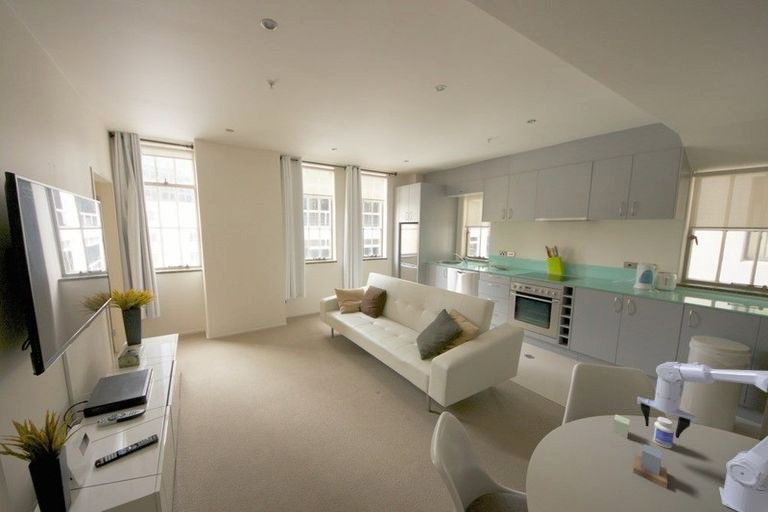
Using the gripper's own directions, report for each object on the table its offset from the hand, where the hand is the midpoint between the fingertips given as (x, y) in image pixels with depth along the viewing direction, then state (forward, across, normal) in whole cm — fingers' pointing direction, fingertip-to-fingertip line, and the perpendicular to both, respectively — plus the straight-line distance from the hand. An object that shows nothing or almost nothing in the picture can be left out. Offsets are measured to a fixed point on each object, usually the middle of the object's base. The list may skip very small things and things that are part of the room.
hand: (661, 430), depth 100 cm
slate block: (+8, +2, +11) cm, 14 cm away
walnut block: (+11, +2, +12) cm, 16 cm away
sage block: (+10, +11, -5) cm, 16 cm away
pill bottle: (+11, -1, -10) cm, 15 cm away
